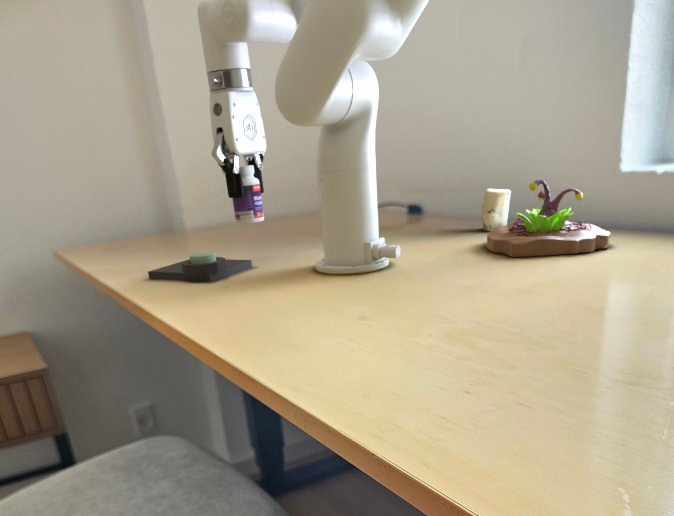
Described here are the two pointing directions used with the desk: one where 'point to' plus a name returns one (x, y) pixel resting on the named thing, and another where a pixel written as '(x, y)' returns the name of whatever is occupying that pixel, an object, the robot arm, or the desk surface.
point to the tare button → (203, 257)
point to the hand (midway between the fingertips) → (246, 194)
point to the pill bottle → (249, 198)
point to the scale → (200, 270)
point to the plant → (547, 231)
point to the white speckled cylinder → (495, 208)
